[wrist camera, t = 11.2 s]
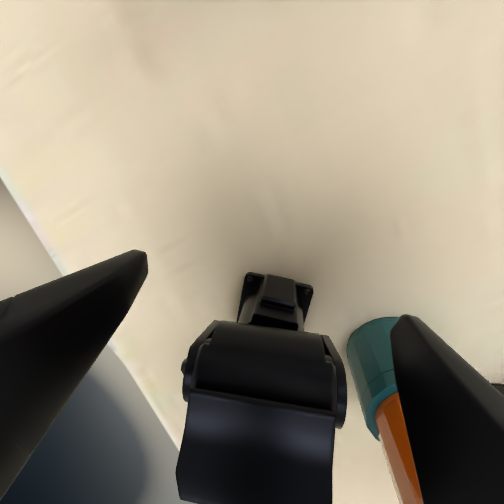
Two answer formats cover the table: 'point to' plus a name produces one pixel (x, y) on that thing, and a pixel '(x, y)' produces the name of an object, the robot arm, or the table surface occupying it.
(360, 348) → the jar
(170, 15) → the table surface
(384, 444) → the orange cup
